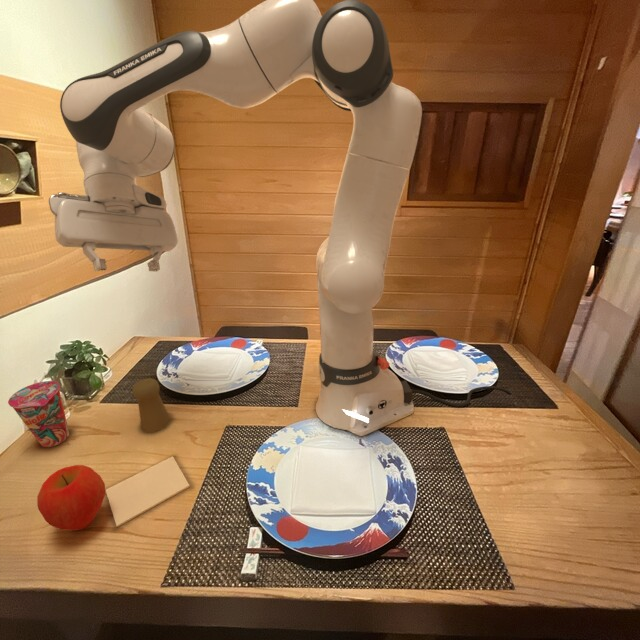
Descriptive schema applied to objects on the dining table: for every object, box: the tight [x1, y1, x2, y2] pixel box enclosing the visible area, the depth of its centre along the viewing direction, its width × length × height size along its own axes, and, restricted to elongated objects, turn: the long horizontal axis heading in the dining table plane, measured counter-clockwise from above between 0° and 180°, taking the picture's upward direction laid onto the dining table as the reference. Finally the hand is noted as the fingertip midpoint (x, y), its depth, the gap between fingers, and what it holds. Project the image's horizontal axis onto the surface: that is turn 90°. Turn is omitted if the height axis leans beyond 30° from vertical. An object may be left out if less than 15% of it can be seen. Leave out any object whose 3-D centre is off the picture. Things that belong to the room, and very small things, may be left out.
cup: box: [7, 380, 70, 448], centre depth 74 cm, size 9×8×12 cm
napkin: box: [105, 456, 191, 528], centre depth 64 cm, size 12×9×1 cm
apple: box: [36, 464, 106, 531], centre depth 56 cm, size 9×8×11 cm
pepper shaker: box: [132, 377, 171, 434], centre depth 78 cm, size 6×6×11 cm
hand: (129, 270), depth 66 cm, fingers open, 8 cm apart
